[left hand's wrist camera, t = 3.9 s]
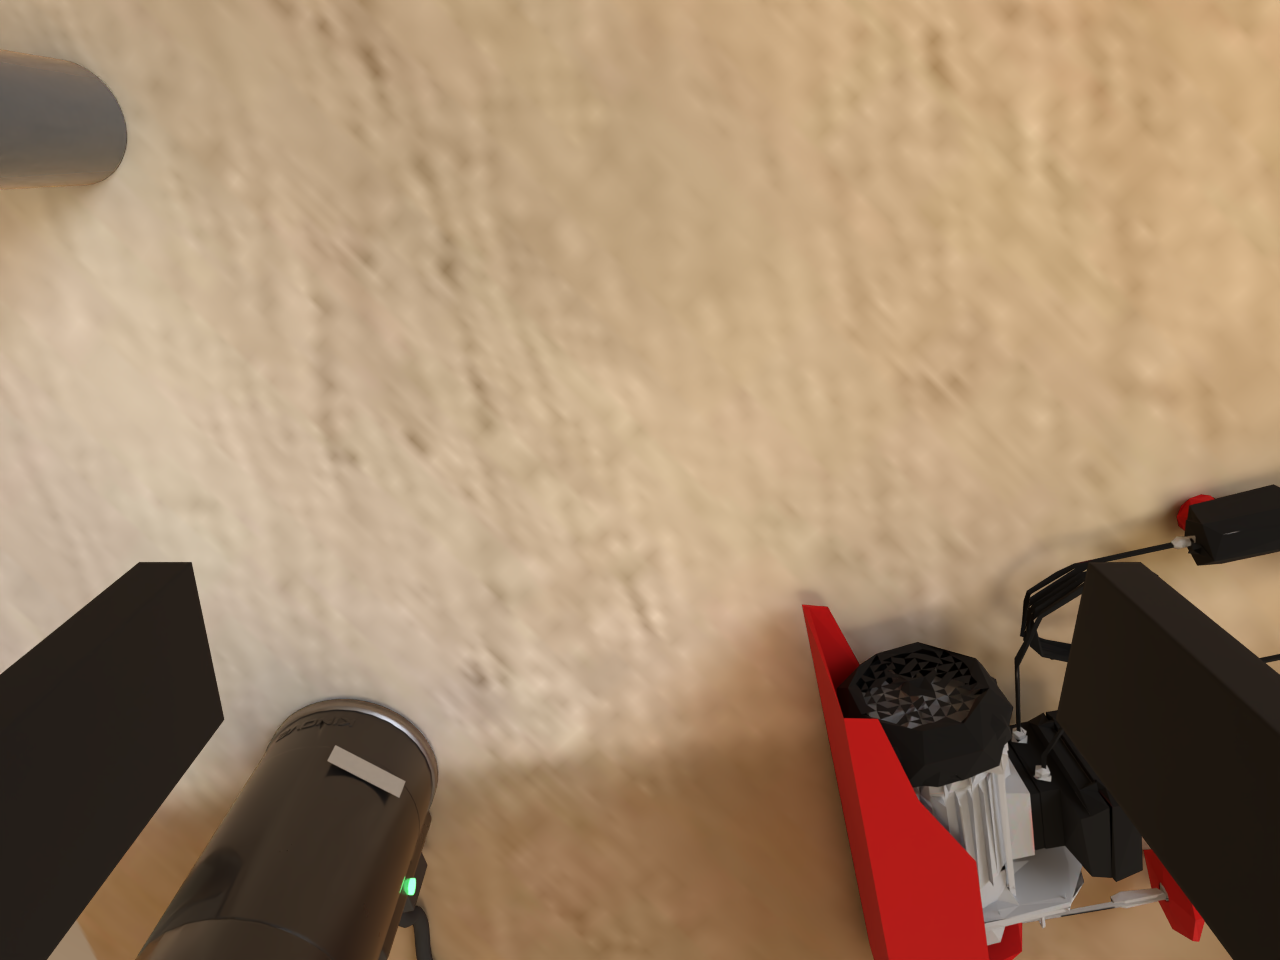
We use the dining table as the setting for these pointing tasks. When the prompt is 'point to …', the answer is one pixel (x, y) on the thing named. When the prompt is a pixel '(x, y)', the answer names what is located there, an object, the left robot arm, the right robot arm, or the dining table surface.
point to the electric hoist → (991, 775)
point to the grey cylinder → (56, 124)
